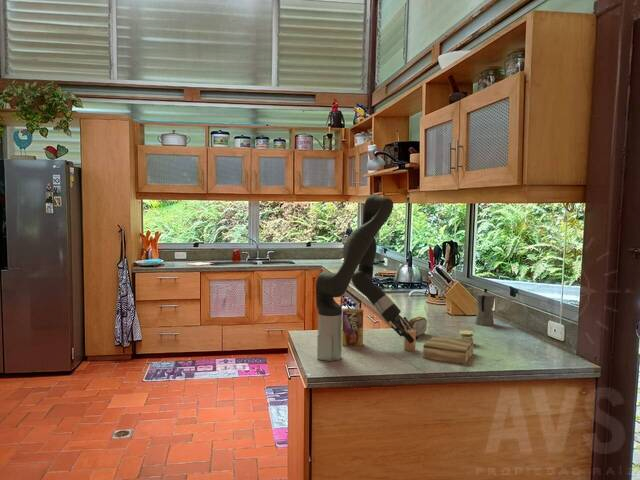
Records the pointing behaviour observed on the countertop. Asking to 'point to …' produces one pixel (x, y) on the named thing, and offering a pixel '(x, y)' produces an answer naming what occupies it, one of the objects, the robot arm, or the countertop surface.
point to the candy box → (352, 326)
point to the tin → (419, 325)
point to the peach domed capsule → (408, 345)
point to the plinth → (448, 349)
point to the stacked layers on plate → (466, 335)
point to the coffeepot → (485, 308)
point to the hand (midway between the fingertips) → (414, 340)
